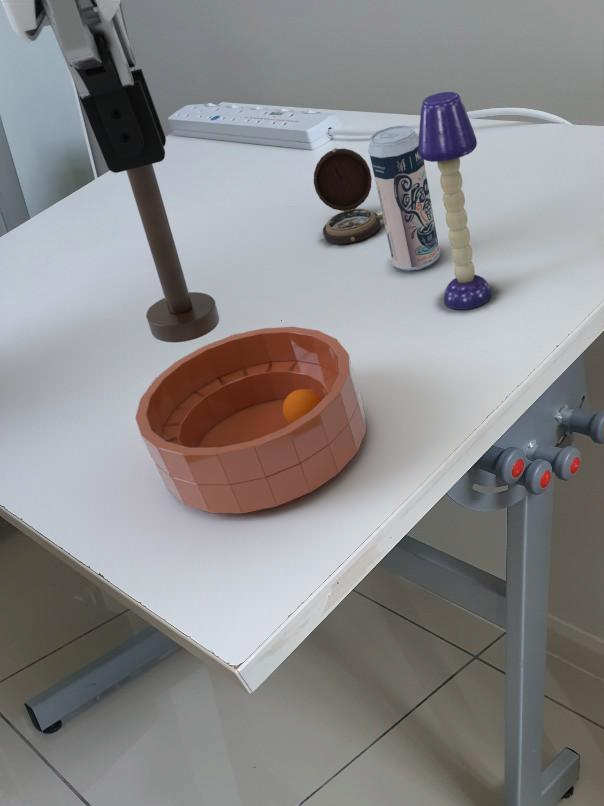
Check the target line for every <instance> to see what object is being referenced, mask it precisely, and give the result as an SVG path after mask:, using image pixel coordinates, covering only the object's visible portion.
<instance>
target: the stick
mask: <svg viewBox="0 0 604 806" xmlns="http://www.w3.org/2000/svg"><path fill="white" fill-rule="evenodd" d="M125 172H126V175H127V178H128V181H129V184H130V188H131V191H132V194H133V198H134V201H135V204H136V207H137V210H138V215H139V218H140V220H141V224H142V227H143V229H144V234H145V236H146V240H147V243H148V247H149V250H150V254H151V256H152V260H153V264H154V267H155V269H156V273H157V276H158V280H159V283H160V286H161V289H162V293H163V296H164V297H163V298H162V299H159V300H158V301H156V302H155V303H153V304H152V305H151V306H150V307H149V308H148V309H147V312H146V315H145V316H146V320H147V324H148V327H149V330H150V333H151V335H152V336H153V337H154V339H156V340H158V341H160V342H165V343H185V342H190V341H194V340H196V339H199V338H202V337H204V336H206V335H208V334H210V333H211V332H212V331H214V330H215V329H216V328H217V326H218V325H219V323H220V313H219V311H218V306H217V304H216V300H215V298H214V297H213V296H211V295H209V294H207V293H205V292H199V291H198V292H197V291H190V292H189V288H188V286H187V281H186V279H185V278H186V277H185V274H184V271H183V267H182V263H181V261H180V256H179V253H178V250H177V246H176V242H175V239H174V236H173V232H172V229H171V224H170V221H169V217H168V215H167V211H166V207H165V204H164V200H163V196H162V194H161V190H160V186H159V183H158V179H157V176H156V172H155V169H154V165H153V164H149V165H145V166H142V167H138V168H134V169H130V170H126V171H125Z"/></svg>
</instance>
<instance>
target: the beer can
mask: <svg viewBox="0 0 604 806" xmlns="http://www.w3.org/2000/svg"><path fill="white" fill-rule="evenodd" d="M418 144H419V134H417V132H416V130H415V129H414V128H413V126H409V125H395V126H388V127H386V128H382V129H381V130H378V131H376V132H375V133H373V135H371V136H370V140H369V145H368V148H367V153H368V155H369V158H370V163H371V168H372V173H373V176H374V177H373V178H374V181H375V186H376V191H377V197H378V199H379V204H380V209H381V214H383V219H384V220H383V223H384V228H385V232H386V238H387V243H388V247H389V251H390V257H391V264H392V265H393V266H394V267H395V268H397V269H399V270H402V271H408V272H414V271H420V270H424V269H426V268H428V267H430V266H432V264H434V262H436V261H438V259H439V258H440V256H441V250H440V245H439V244H440V243H439V239H438V234H437V228H436V221H435V217H434V211H433V205H432V200H431V193H430V188H429V183H428V177H427V169H426V164H425V160H423V159H422V158H421V157H420V156H419V152H418Z"/></svg>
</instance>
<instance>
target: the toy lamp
mask: <svg viewBox="0 0 604 806" xmlns="http://www.w3.org/2000/svg"><path fill="white" fill-rule="evenodd" d="M419 120H420V121H419V130H418V136H419V144H418V152H419V156H420V157H421V158H422V159H423V160H424V161H427V162H431V163H437V168H438V170H439V172H440V179H439V181H440V188H441V189H442V191H443V195H442V196H443V197H442V202H443V203H442V204H443V207H444V209H445V210H446V212H445V222H446V223H445V224H446V225H447V228H448V229H449V230H448V240H449V241H448V242H449V243H450V245H451V259H452V262H453V263H454V269H453V272H454V276H455V277H454V278H453V279H452V280H450V281H449V283H448V284H447V286H446V288H445V290H444V296H443V301H444V304H445V306H446V307H448V308H450V309H453V310H470V309H475V308H478V307H479V306H482V305H484V304H485V303H488V301H489V300H490V299H491V297H492V295H493V292H492V289H491V286H490V284H489V282H488V281H487V279H485V278H483V277H482V276H480V275H478V274H475V273H476V269H475V265H474V263H473V261H472V260H473V249H472V246H471V244H470V241H471V233H470V232H471V231H470V230H469V228H468V226H467V225H468V213H467V211H466V209H465V203H466V199H465V193H464V191H463V190H462V188H463V176H462V173H461V172H460V167H461V159H460V158H462V157H465V156H468V155H470V154H471V153H473V152H474V151H475V149H476V148H477V145H478V141H477V136H476V134H475V131H474V129H473V126H472V123H471V120H470V117H469V115H468V113H467V109H466V106H465V105H464V102H463V100H462V98H461V96H460V95H459V94H458V92H454V91H443V92H437V93H434V94H431V95H428V96H427V97H425V98H424V99H422V102H421V106H420V119H419Z"/></svg>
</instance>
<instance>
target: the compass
mask: <svg viewBox="0 0 604 806" xmlns="http://www.w3.org/2000/svg"><path fill="white" fill-rule="evenodd" d="M372 179H373V178H372V173H371V169H370V166H369V165H368V163H367V160H365V159H364V157H362V155H361V154H359V153H358V152H356V151H354V150H353V149H348V148H337V147H335V148H333V149H331V150H330V151H327V152H326V153H325V154H323V156H321V157H320V159H319V160H318V162H317V163H316V165H315V169H314V172H313V186H314V190H315V193H316V195H317V196H318V198H319V200H320V201H322V203H323V204H324V205H325V206H327V207H329V208H331V209H333V210H336V211H340V212H337V213H336V214H335V215H334V216H331V218H330V219H328V221H327V223H326V224H325V225H324V226H323V228H322V234H323V237H324V238H325V240H326V241H328V242H330V243H332V244H351V243H356V242H359V241H363V240H365V239H367V238H369V237H371V236H372V235H374V234H375V233H376V232H377V231H378V230H379V229H380V227H381V225H382V224H381V221H384V219H383V214H382V213H380V214H378V213H376V212H374V211H372V210H369V209H367V208H359V207H360V206H361V205H362V204H363V203H364V202H365V201H366V200H367V198H368V197H369V195H370V192H371V189H372Z"/></svg>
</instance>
